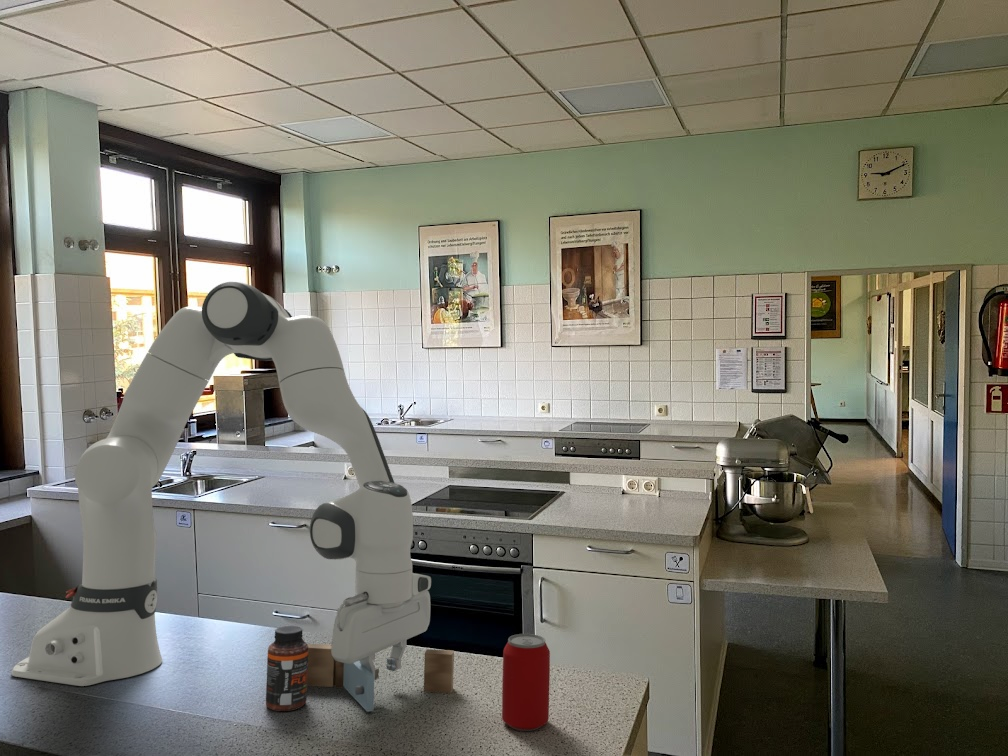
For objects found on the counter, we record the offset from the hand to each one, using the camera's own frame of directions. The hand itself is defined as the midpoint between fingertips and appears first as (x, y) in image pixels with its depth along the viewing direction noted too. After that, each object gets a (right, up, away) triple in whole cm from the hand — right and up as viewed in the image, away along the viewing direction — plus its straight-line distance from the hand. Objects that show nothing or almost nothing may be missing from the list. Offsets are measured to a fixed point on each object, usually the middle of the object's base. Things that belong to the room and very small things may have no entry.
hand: (382, 675), depth 121 cm
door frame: (-3, -3, +3) cm, 5 cm away
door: (-4, -2, -3) cm, 5 cm away
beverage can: (+22, -3, -10) cm, 24 cm away
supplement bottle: (-14, -3, -5) cm, 15 cm away
